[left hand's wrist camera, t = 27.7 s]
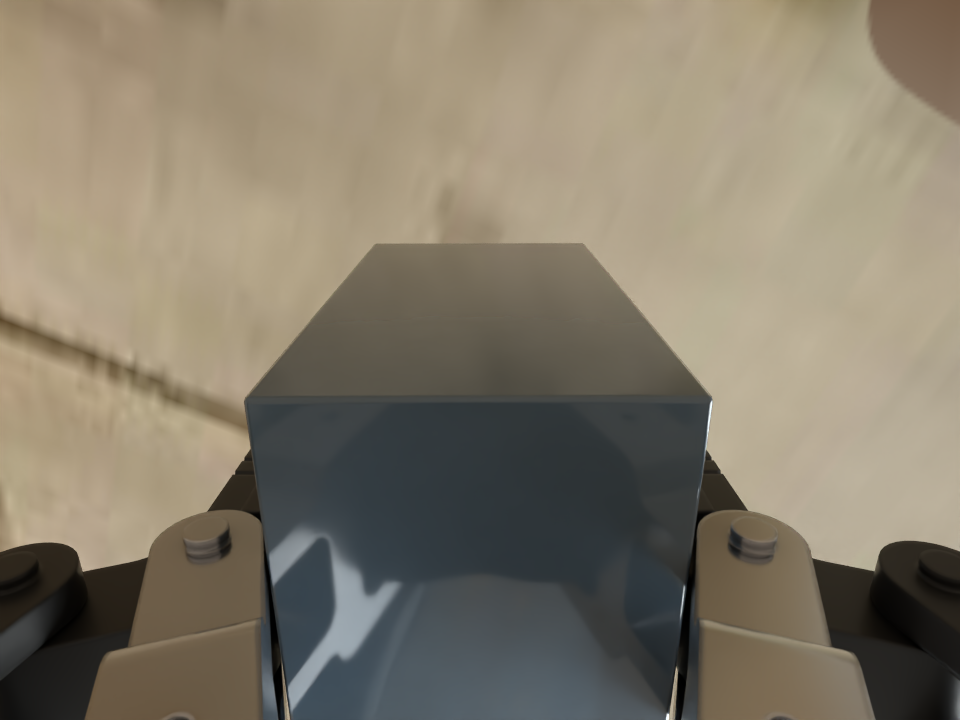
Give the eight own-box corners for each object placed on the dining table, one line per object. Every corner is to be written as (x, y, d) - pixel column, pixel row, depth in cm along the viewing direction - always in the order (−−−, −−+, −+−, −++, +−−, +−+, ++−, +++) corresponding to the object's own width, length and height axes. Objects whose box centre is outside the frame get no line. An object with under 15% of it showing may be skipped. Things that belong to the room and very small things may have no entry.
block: (388, 487, 16) (304, 827, 9) (373, 243, 14) (241, 397, 6) (571, 486, 16) (655, 826, 8) (584, 242, 14) (717, 397, 6)
